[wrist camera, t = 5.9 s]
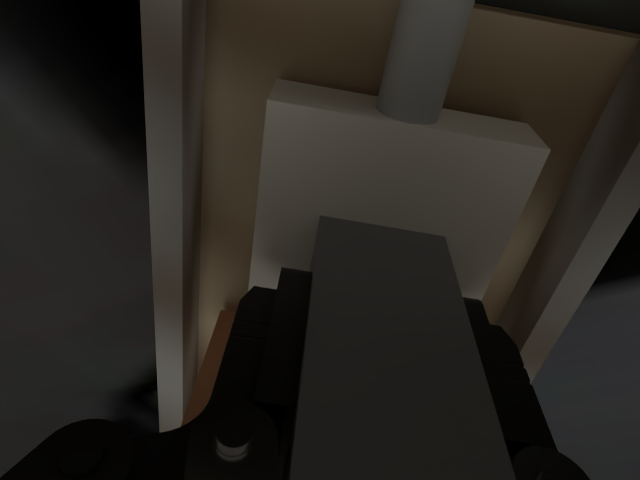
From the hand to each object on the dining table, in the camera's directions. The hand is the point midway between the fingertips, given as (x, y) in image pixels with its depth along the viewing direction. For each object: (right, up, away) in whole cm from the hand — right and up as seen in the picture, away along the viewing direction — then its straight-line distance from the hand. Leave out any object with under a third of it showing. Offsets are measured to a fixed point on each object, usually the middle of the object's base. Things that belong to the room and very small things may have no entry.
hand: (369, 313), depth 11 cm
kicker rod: (+1, +3, +1) cm, 4 cm away
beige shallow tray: (0, +1, +5) cm, 5 cm away
